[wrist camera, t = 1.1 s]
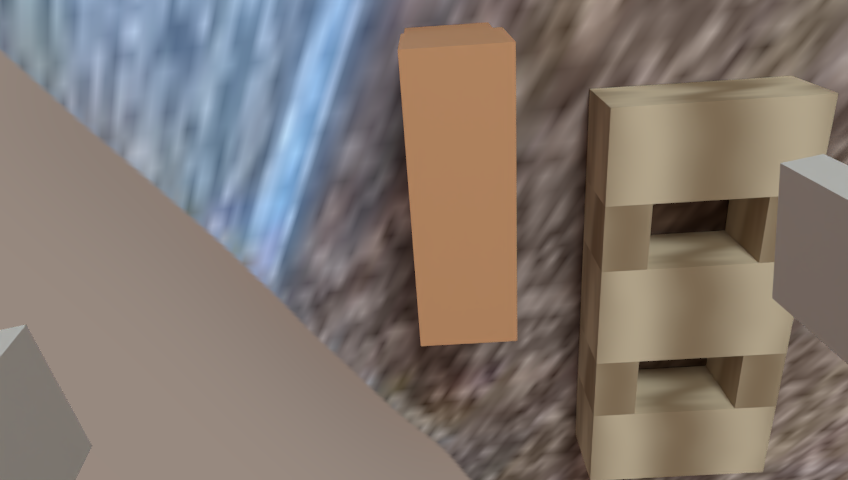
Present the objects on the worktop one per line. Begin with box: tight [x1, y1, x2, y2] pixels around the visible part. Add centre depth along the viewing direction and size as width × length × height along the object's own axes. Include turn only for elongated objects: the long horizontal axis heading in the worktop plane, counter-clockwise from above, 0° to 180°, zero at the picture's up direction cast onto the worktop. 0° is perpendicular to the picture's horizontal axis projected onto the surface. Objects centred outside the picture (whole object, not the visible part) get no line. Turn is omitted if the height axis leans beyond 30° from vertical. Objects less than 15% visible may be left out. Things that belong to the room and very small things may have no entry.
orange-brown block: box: [398, 23, 517, 346], centre depth 29 cm, size 12×4×10 cm, turn 4°
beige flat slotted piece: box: [575, 76, 838, 480], centre depth 36 cm, size 10×22×4 cm, turn 4°
